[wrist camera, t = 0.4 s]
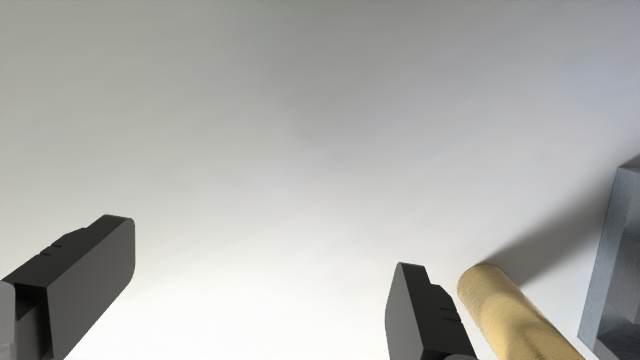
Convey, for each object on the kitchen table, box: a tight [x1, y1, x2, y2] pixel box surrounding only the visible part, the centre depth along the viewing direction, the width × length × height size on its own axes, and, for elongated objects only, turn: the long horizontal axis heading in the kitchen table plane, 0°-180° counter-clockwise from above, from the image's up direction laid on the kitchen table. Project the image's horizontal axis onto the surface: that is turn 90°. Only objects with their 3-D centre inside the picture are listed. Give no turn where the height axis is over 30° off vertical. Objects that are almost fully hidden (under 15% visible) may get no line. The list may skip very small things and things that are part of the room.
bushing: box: [457, 264, 585, 360], centre depth 28 cm, size 6×6×14 cm
